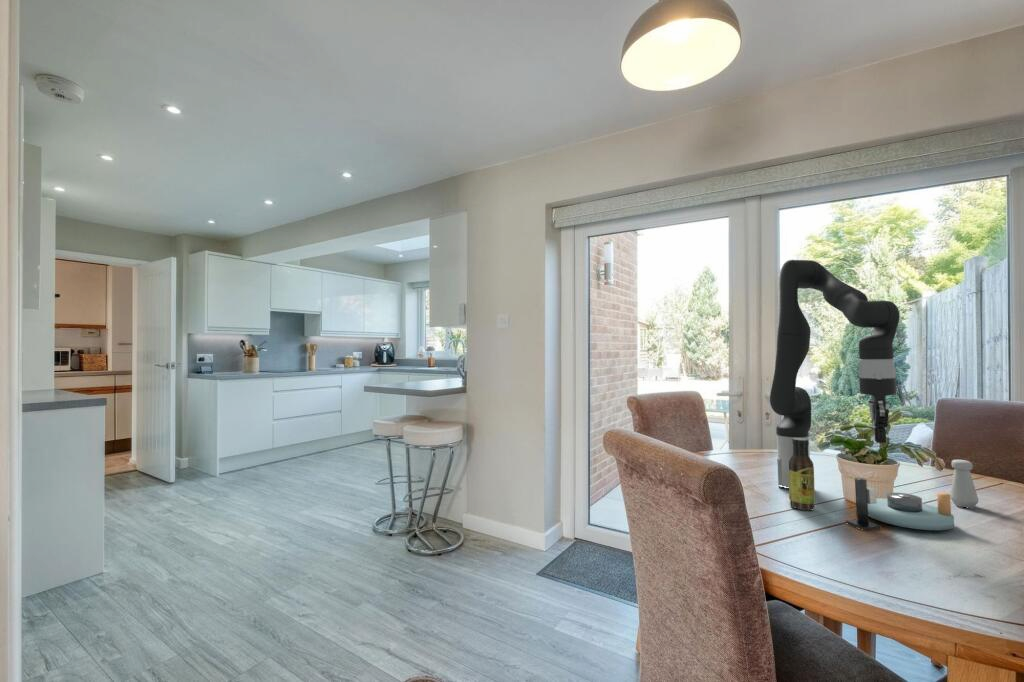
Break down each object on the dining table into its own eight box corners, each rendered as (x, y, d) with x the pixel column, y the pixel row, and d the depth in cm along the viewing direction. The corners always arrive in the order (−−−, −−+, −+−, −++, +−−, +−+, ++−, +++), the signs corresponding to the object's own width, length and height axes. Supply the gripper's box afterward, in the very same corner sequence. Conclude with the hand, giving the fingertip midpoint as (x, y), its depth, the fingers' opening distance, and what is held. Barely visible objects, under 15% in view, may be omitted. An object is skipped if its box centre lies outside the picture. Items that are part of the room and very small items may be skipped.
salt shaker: (966, 503, 131) (963, 458, 131) (985, 509, 125) (982, 462, 126) (944, 502, 132) (942, 458, 132) (962, 509, 126) (959, 462, 126)
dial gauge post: (863, 530, 113) (861, 482, 114) (845, 523, 118) (843, 477, 119) (885, 528, 114) (882, 480, 115) (866, 521, 119) (864, 475, 120)
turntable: (868, 522, 115) (866, 494, 116) (858, 502, 131) (857, 477, 131) (965, 535, 106) (963, 505, 106) (942, 511, 121) (941, 485, 122)
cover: (890, 510, 118) (890, 497, 118) (884, 502, 124) (884, 490, 124) (926, 514, 115) (925, 501, 115) (918, 505, 121) (917, 493, 121)
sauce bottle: (805, 512, 127) (802, 441, 127) (784, 506, 132) (781, 438, 133) (820, 509, 129) (817, 439, 130) (799, 503, 135) (796, 436, 135)
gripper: (856, 375, 127) (859, 437, 126) (862, 377, 115) (865, 445, 115) (890, 375, 123) (894, 439, 122) (900, 377, 111) (904, 448, 111)
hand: (880, 442), depth 118 cm, fingers closed
